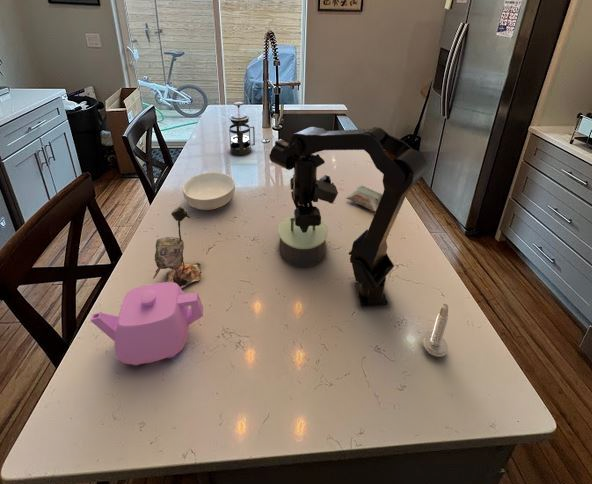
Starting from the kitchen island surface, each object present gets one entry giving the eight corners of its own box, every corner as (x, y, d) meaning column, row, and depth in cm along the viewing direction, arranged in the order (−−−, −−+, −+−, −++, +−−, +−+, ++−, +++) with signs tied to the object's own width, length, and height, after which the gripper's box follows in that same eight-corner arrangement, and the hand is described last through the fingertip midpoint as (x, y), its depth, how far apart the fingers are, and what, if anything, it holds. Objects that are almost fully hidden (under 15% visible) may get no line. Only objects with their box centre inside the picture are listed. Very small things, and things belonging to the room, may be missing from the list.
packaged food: (374, 217, 107) (376, 204, 105) (344, 202, 114) (345, 190, 112) (386, 205, 113) (388, 193, 111) (357, 192, 120) (358, 180, 118)
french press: (229, 157, 142) (226, 107, 133) (227, 148, 151) (224, 100, 142) (256, 154, 145) (255, 105, 136) (253, 145, 154) (251, 98, 145)
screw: (426, 363, 65) (416, 339, 70) (450, 361, 65) (439, 338, 70) (439, 317, 60) (428, 294, 64) (465, 316, 60) (451, 293, 65)
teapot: (205, 305, 76) (200, 263, 71) (205, 359, 65) (199, 314, 60) (110, 322, 71) (98, 279, 66) (92, 384, 60) (76, 338, 55)
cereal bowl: (197, 224, 101) (195, 205, 99) (177, 199, 113) (174, 182, 110) (244, 204, 112) (244, 186, 109) (221, 183, 123) (220, 167, 121)
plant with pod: (159, 267, 86) (148, 203, 78) (204, 263, 87) (197, 200, 79) (151, 293, 78) (137, 226, 71) (200, 289, 80) (191, 222, 72)
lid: (331, 249, 85) (333, 234, 83) (279, 252, 84) (279, 236, 82) (323, 216, 97) (324, 202, 95) (277, 218, 96) (277, 203, 94)
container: (328, 265, 88) (329, 246, 85) (280, 267, 87) (281, 248, 84) (320, 233, 99) (321, 216, 97) (279, 235, 98) (279, 217, 96)
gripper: (344, 195, 76) (339, 248, 82) (329, 157, 93) (326, 203, 99) (296, 197, 75) (294, 250, 81) (290, 158, 92) (289, 204, 98)
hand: (303, 225), depth 90 cm, fingers open, 5 cm apart
